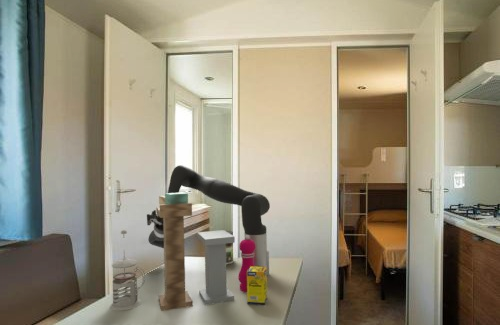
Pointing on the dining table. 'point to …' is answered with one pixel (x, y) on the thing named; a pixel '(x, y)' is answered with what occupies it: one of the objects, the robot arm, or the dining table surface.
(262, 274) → the supplement box
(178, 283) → the walnut stand
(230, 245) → the coffee can
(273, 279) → the dining table surface
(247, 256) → the pepper mill
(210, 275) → the slate pedestal
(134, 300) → the french press
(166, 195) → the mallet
